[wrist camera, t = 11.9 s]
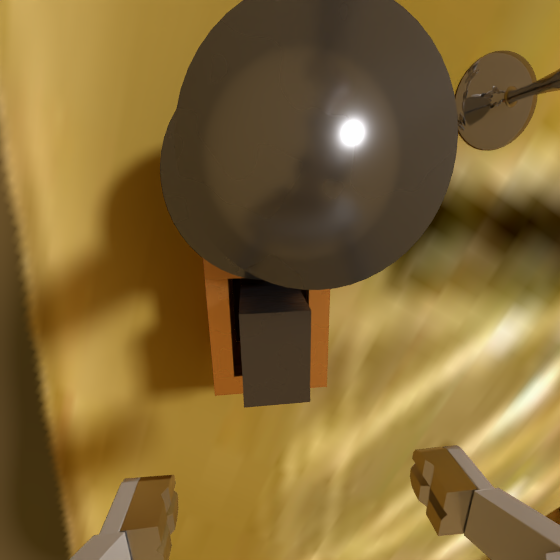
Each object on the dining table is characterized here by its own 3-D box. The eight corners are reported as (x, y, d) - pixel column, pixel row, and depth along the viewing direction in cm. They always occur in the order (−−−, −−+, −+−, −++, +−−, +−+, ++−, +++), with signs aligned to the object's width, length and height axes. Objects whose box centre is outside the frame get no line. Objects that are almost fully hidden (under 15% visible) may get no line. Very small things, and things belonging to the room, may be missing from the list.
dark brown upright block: (241, 269, 26) (238, 314, 16) (287, 267, 26) (311, 310, 17) (244, 333, 28) (244, 407, 18) (288, 330, 28) (309, 401, 19)
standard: (176, 97, 22) (-300, -546, 3) (338, 99, 23) (782, -340, 4) (202, 358, 28) (107, 721, 9) (329, 349, 29) (489, 652, 10)
